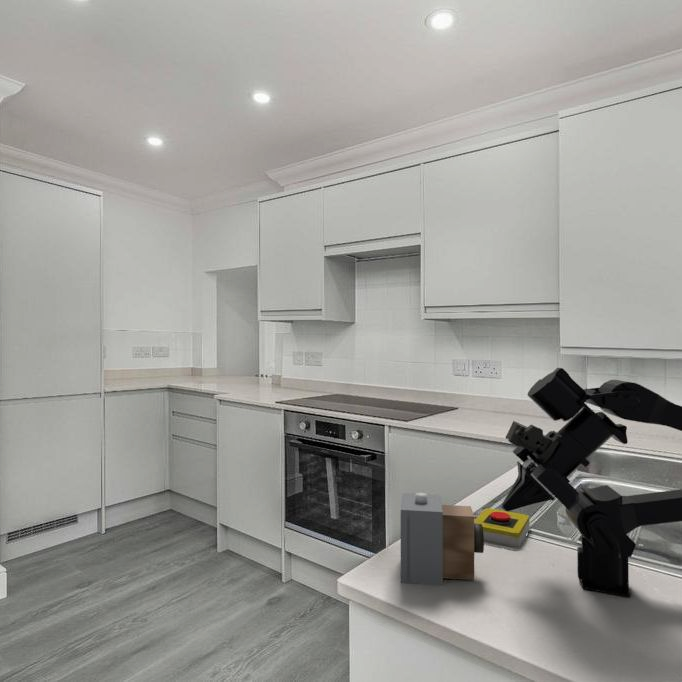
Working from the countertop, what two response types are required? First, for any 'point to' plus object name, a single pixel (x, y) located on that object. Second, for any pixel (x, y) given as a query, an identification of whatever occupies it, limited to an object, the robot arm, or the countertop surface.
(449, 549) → the plunger
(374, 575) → the countertop surface
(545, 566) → the countertop surface
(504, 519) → the emergency button
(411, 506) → the housing
